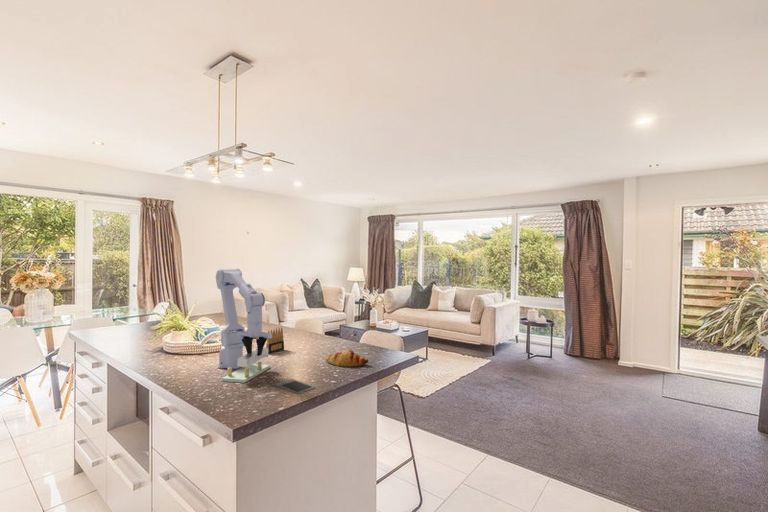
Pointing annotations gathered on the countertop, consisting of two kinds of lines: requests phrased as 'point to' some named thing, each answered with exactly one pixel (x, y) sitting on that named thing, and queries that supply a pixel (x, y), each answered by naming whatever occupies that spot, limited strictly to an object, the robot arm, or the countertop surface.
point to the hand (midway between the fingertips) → (254, 354)
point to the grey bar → (251, 358)
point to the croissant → (346, 359)
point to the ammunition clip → (275, 341)
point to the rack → (245, 373)
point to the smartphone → (295, 386)
